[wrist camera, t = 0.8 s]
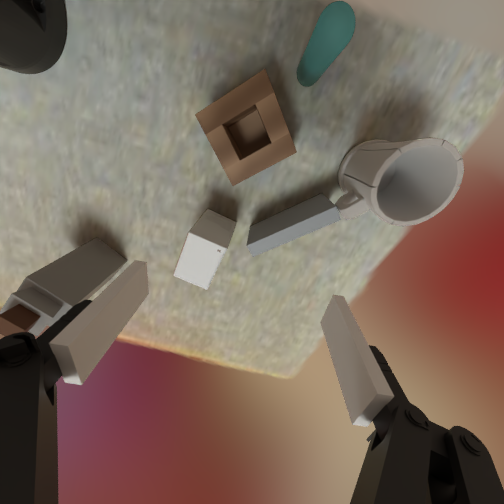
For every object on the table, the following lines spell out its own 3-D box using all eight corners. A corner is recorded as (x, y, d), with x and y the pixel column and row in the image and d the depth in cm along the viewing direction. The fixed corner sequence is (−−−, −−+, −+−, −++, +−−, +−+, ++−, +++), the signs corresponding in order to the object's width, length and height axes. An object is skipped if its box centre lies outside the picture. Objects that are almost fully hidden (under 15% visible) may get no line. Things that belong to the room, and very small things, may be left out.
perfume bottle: (80, 258, 43) (-29, 326, 27) (96, 237, 41) (-14, 299, 25) (110, 279, 45) (24, 354, 29) (127, 260, 43) (44, 331, 27)
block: (208, 119, 31) (195, 114, 25) (265, 83, 28) (265, 68, 23) (238, 178, 34) (232, 186, 28) (291, 150, 32) (296, 152, 26)
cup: (372, 216, 36) (417, 248, 25) (321, 201, 35) (346, 226, 24) (410, 150, 31) (486, 154, 20) (353, 130, 30) (400, 123, 20)
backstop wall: (250, 226, 38) (246, 245, 31) (321, 193, 34) (336, 206, 27) (255, 235, 39) (252, 256, 31) (325, 204, 35) (340, 219, 28)
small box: (207, 207, 37) (188, 230, 27) (237, 221, 38) (228, 248, 28) (193, 245, 40) (171, 276, 31) (220, 257, 41) (207, 291, 32)
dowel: (293, 65, 27) (311, 17, 17) (315, 51, 27) (349, -10, 16) (301, 91, 29) (323, 60, 18) (323, 78, 28) (359, 38, 17)
